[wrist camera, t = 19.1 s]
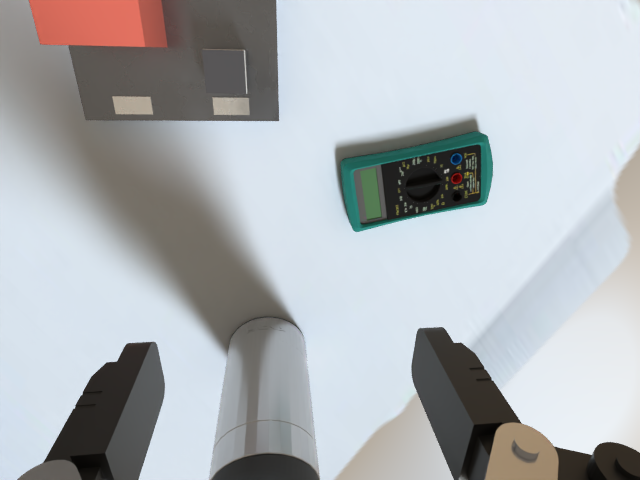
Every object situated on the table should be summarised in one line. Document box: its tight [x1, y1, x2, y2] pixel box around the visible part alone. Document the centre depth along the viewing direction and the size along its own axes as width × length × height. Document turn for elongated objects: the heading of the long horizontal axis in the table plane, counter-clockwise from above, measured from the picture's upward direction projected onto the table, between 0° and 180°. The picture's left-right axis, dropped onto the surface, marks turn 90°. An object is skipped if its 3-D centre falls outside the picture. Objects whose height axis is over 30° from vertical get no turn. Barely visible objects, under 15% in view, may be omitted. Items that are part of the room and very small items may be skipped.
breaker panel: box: [69, 0, 279, 121], centre depth 31 cm, size 15×16×3 cm
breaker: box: [202, 49, 248, 94], centre depth 31 cm, size 3×3×3 cm
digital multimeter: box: [340, 132, 493, 232], centre depth 39 cm, size 7×15×3 cm, turn 100°
